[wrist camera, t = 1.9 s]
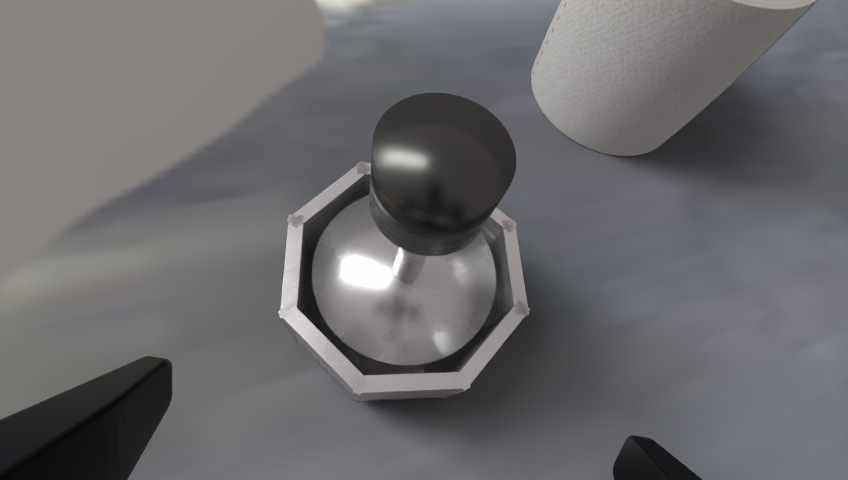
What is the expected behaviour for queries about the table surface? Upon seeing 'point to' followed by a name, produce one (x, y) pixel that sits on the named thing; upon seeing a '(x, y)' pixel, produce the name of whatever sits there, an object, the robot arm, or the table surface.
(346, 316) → the silver black coffee tamper
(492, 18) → the table surface
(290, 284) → the octagonal open box
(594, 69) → the toilet paper roll
